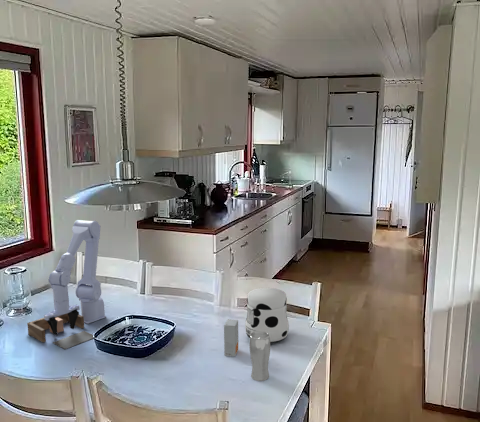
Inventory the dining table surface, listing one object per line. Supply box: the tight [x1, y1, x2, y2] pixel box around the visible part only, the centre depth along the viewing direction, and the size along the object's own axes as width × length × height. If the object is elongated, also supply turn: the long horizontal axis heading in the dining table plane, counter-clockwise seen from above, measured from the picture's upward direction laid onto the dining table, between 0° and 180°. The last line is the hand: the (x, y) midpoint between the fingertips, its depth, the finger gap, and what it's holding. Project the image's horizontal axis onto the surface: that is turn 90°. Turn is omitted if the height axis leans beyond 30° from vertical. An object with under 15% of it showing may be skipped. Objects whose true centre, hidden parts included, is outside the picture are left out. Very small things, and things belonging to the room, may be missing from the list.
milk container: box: [244, 287, 290, 344], centre depth 193 cm, size 17×17×18 cm
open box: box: [26, 313, 94, 350], centre depth 199 cm, size 18×24×5 cm
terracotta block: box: [49, 317, 64, 334], centre depth 203 cm, size 4×4×5 cm
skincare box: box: [223, 318, 239, 358], centre depth 181 cm, size 6×4×12 cm
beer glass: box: [249, 331, 271, 382], centre depth 163 cm, size 7×7×15 cm
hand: (63, 331), depth 200 cm, fingers open, 7 cm apart
